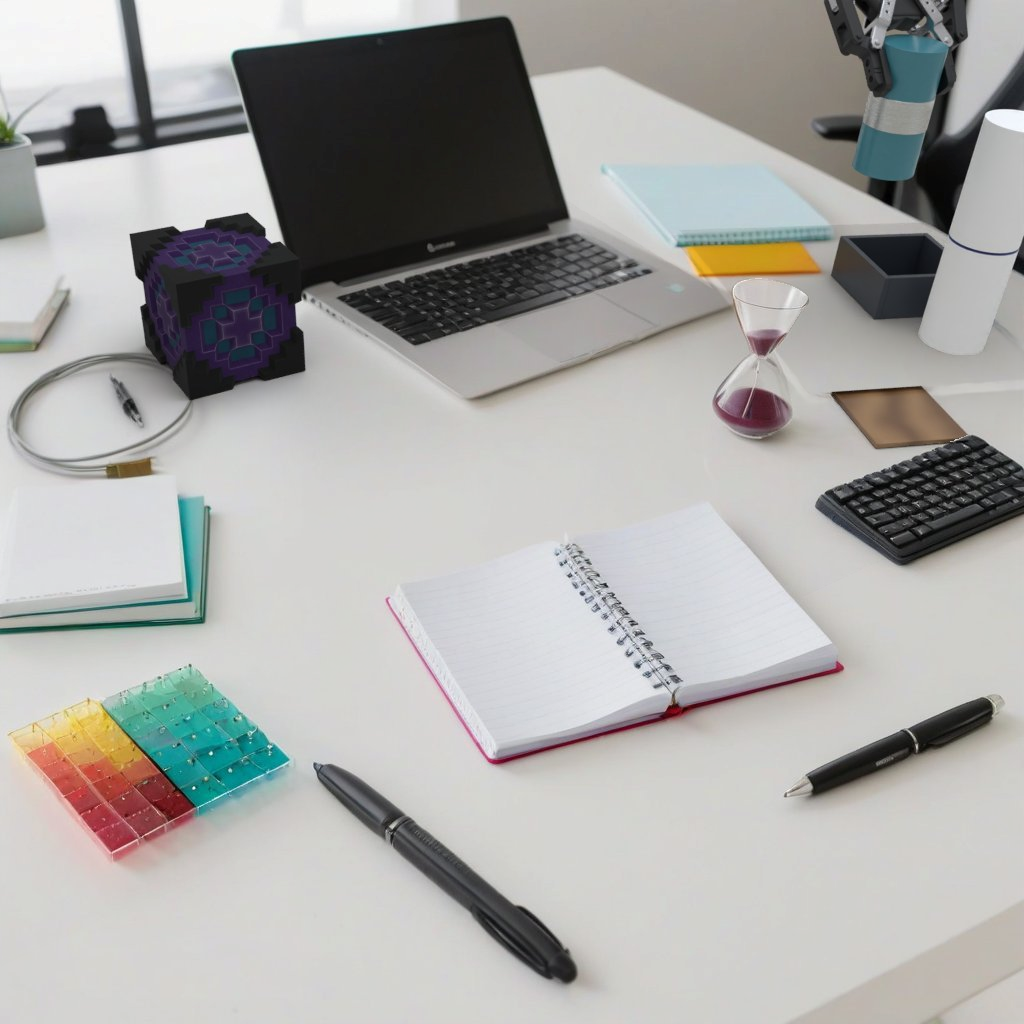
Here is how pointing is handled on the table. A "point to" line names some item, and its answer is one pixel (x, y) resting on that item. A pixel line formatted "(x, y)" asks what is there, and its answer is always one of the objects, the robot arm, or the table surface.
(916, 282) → the tub
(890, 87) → the robot arm
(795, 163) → the table surface
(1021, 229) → the cylindrical container
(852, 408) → the coaster
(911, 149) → the can
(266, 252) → the energy cube
